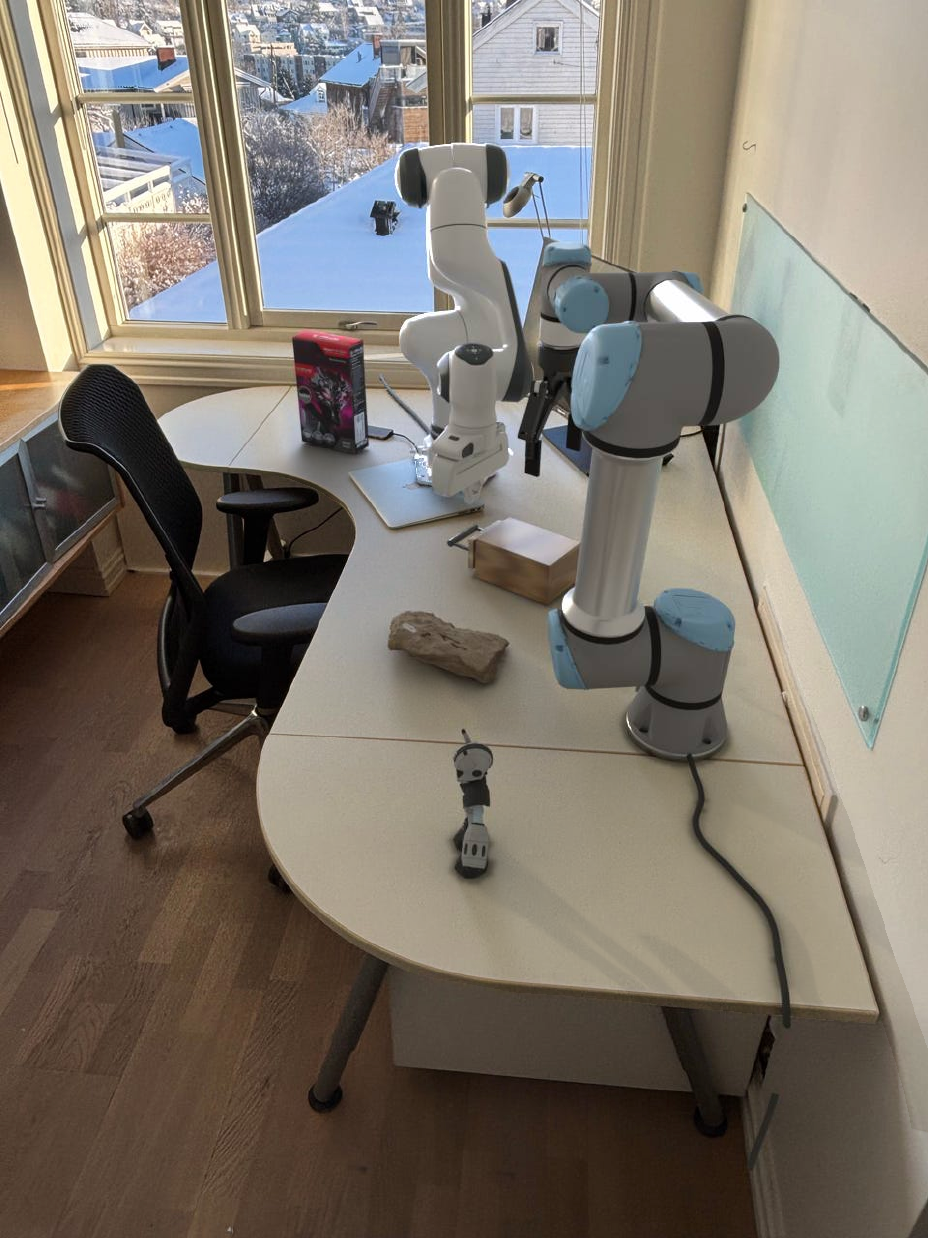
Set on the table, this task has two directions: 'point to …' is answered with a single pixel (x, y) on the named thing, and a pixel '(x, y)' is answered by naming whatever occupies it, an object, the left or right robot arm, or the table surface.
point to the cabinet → (527, 560)
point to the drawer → (470, 541)
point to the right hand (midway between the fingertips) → (553, 461)
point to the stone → (447, 645)
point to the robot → (473, 807)
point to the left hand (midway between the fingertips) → (471, 500)
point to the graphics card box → (331, 390)
